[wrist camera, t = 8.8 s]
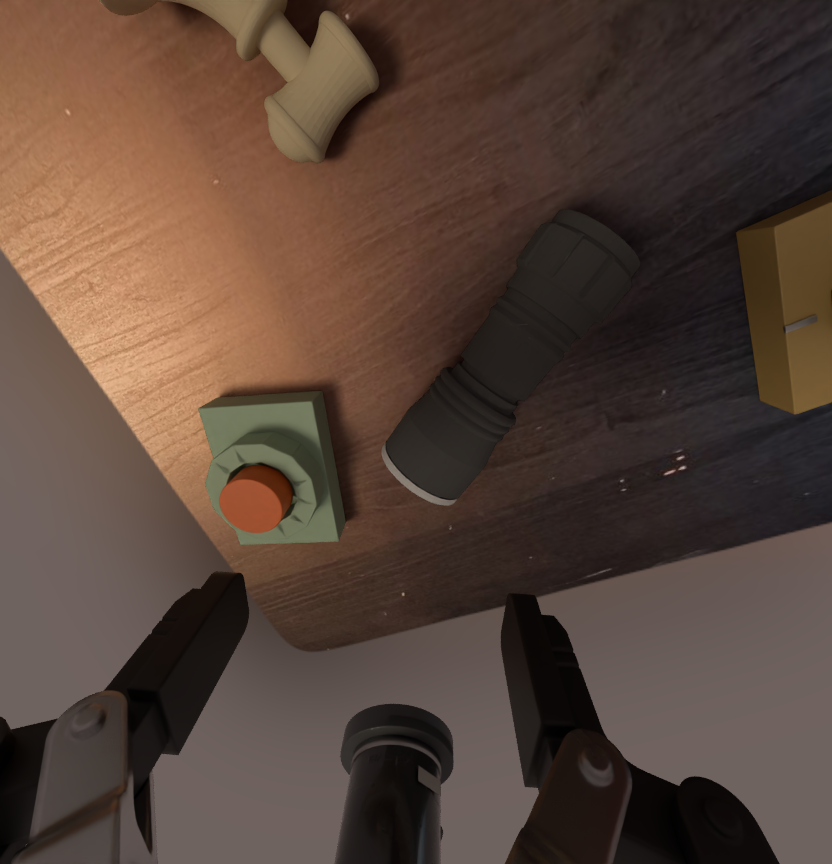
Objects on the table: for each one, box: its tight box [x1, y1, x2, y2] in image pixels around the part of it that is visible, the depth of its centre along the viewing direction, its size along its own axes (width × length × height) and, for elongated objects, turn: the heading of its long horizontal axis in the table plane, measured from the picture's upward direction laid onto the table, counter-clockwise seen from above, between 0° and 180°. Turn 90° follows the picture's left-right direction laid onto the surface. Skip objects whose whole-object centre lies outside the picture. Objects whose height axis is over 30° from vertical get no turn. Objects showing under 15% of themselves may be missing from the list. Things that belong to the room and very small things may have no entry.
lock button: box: [219, 465, 293, 533], centre depth 22 cm, size 4×4×2 cm
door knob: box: [99, 0, 379, 163], centre depth 16 cm, size 10×8×8 cm
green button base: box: [198, 391, 346, 545], centre depth 25 cm, size 10×7×4 cm
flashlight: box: [382, 209, 640, 506], centre depth 21 cm, size 15×5×5 cm, turn 146°
